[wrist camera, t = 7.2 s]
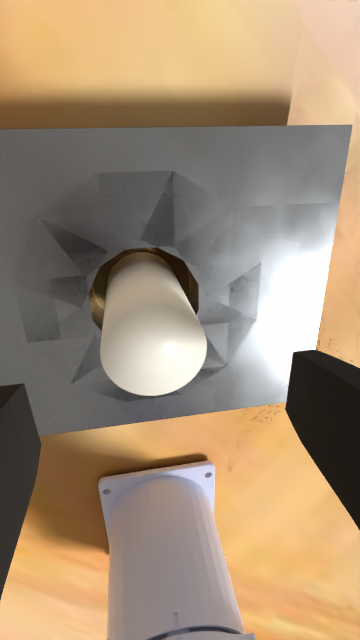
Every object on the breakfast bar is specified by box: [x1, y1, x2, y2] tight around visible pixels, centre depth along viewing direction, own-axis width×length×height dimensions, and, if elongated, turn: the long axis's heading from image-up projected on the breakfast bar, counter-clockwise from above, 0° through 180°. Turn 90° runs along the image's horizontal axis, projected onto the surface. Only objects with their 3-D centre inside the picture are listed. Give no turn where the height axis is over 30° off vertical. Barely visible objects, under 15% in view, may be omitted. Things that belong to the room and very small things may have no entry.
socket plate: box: [0, 125, 352, 436], centre depth 16 cm, size 14×18×2 cm
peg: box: [100, 252, 207, 396], centre depth 14 cm, size 4×4×7 cm
